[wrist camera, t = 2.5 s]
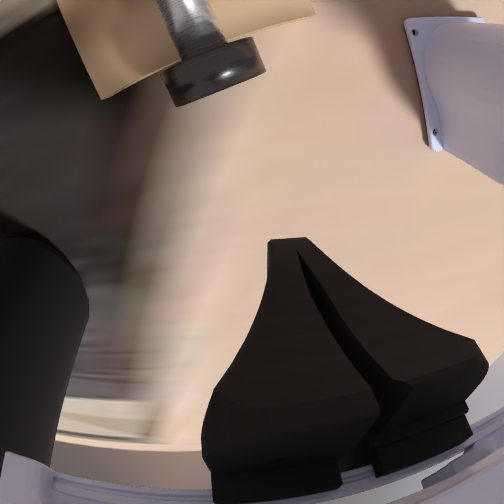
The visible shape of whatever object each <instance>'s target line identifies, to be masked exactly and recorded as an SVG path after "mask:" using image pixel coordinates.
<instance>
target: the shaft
mask: <svg viewBox="0 0 504 504" xmlns="http://www.w3.org/2000/svg"><path fill="white" fill-rule="evenodd" d="M154 2H155V4H156V7H157V9H158V11H159V13H160V15H161V17H162V19H163V22H164V24H165V26H166V28H167V30H168V32H169V34H170V37H171V39H172V41H173V43H174V45H175V47H176V50H177V52H178V54H179V56H180V58H181V61H182V62H180V63H178V64H176V65H174V66H172V67H170V68H168V69H167V70H165V71H163V72H162V73H161V77H162V79H163V81H164V83H165V85H166V87H167V89H168V91H169V94H170V96H171V98H172V100H173V102H174V104H175V106H176V107H179V106H182V105H185V104H188V103H191V102H193V101H196V100H199V99H201V98H204V97H206V96H209V95H211V94H214V93H216V92H219V91H221V90H224V89H226V88H229V87H231V86H234V85H236V84H239V83H241V82H244V81H246V80H249V79H251V78H254V77H256V76H258V75H260V74H262V73H264V72H266V69H265V67H264V64H263V62H262V59H261V57H260V54H259V52H258V50H257V47H256V45H255V42H254V40H253V38H252V37H248V38H243V39H240V40H236V41H233V42H230V43H228V42H227V40H226V38H225V35H224V33H223V31H222V29H221V26H220V24H219V22H218V20H217V18H216V15H215V13H214V11H213V9H212V7H211V4H210V2H209V0H154Z"/></svg>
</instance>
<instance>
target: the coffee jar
mask: <svg viewBox="0 0 504 504" xmlns="http://www.w3.org/2000/svg"><path fill="white" fill-rule="evenodd" d="M88 319H89V299H88V297H87V294H86V291H85V288H84V285H83V282H82V279H81V277H80V276H79V274H78V273H77V271H76V270H75V268H74V267H73V265H72V264H71V263H70V262H69V261H68V260H67V259H66V258H65V257H64V256H63V255H62V254H61V253H60V252H59V251H58V250H56V249H54V248H53V247H51V246H49V245H48V244H46V243H44V242H42V241H39V240H35V239H32V238H29V237H23V238H22V237H21V238H7V239H4V240H2V241H1V242H0V477H1V472H2V466H3V461H4V457H5V452H7V451H9V452H12V453H15V454H18V455H21V456H24V457H27V458H30V459H33V460H36V461H38V462H40V463H42V464H44V465H46V466H48V467H49V468H50V463H51V457H52V451H53V446H54V441H55V436H56V431H57V427H58V422H59V418H60V413H61V409H62V405H63V401H64V397H65V393H66V389H67V386H68V382H69V379H70V375H71V372H72V368H73V365H74V361H75V358H76V355H77V352H78V349H79V346H80V342H81V339H82V336H83V333H84V330H85V328H86V325H87V322H88Z"/></svg>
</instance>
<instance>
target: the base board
mask: <svg viewBox="0 0 504 504" xmlns="http://www.w3.org/2000/svg"><path fill="white" fill-rule="evenodd" d="M56 1H57V3H58V6H59V8H60V11H61V13H62V15H63V18H64V20H65V22H66V25H67V27H68V29H69V32H70V34H71V36H72V39H73V41H74V43H75V45H76V47H77V50H78V52H79V54H80V56H81V58H82V61H83V63H84V65H85V67H86V69H87V71H88V73H89V75H90V78H91V80H92V82H93V84H94V86H95V88H96V90H97V92H98V94H99V96H100V98H101V100H104V99H106V98H109V97H111V96H113V95H115V94H116V93H118V92H120V91H121V90H123V89H125V88H127V87H129V86H130V85H132V84H134V83H136V82H138V81H140V80H142V79H143V78H145V77H147V76H149V75H151V74H153V73H155V72H157V71H159V70H161V69H163V68H165V67H168V66H170V65H172V64H174V63H176V62H178V61H181V58H180V56H179V54H178V52H177V50H176V47H175V45H174V43H173V41H172V39H171V37H170V34H169V32H168V30H167V28H166V26H165V24H164V22H163V19H162V17H161V15H160V13H159V11H158V9H157V7H156V4H155V2H154V0H56ZM209 2H210V4H211V7H212V9H213V11H214V13H215V15H216V18H217V20H218V22H219V24H220V26H221V29H222V31H223V33H224V35H225V38H226V40H227V42H228V41H230V40H233V39H236V38H239V37H242V36H245V35H248V34H251V33H254V32H257V31H261V30H264V29H267V28H271V27H274V26H278V25H282V24H285V23H289V22H293V21H297V20H302V19H306V18H309V17H311V16H314V15H316V13H315V11H314V9H313V6H312V4H311V1H310V0H209Z"/></svg>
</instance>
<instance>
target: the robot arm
mask: <svg viewBox="0 0 504 504" xmlns="http://www.w3.org/2000/svg"><path fill="white" fill-rule="evenodd" d="M404 27H405V30H406V34H407V37H408V41H409V44H410V48H411V52H412V56H413V60H414V64H415V68H416V72H417V77H418V81H419V86H420V91H421V96H422V101H423V107H424V113H425V119H426V126H427V133H428V141H429V147H430V149H431V150H433V151H435V152H438V151H441V150H445V151H447V152H449V153H451V154H452V155H454V156H456V157H457V158H459V159H461V160H463V161H464V162H466V163H467V164H469V165H471V166H472V167H474V168H476V169H477V170H479V171H480V172H482V173H483V174H485V175H486V176H488V177H489V178H491V179H492V180H494V181H496V182H498V183H499V184H502V185H504V25H503V24H492V23H486V22H485V20H484V19H483V18H481V17H420V18H408V19H406V20H405V21H404ZM412 30H414V31H415V36H414V35H413V34H412ZM434 129H435V133H434V134H433V130H434ZM488 368H489V363H488V361H487V360H486V358H485V356H484V355H483V353H482V352H481V350H480V348H479V347H478V345H477V343H476V342H475V340H473V339H470V338H468V337H465V336H462V335H459V334H456V333H453V332H450V331H447V330H444V329H442V328H439V327H437V326H435V325H432V324H430V323H428V322H425V321H423V320H421V319H419V318H417V317H415V316H413V315H411V314H409V313H407V312H405V311H404V310H402V309H400V308H398V307H396V306H394V305H393V304H391V303H389V302H388V301H386V300H384V299H383V298H381V297H380V296H378V295H377V294H375V293H374V292H372V291H371V290H369V289H368V288H366V287H365V286H363V285H362V284H361V283H360V282H358V281H357V280H356V279H354V278H353V277H352V276H350V275H349V274H348V273H347V272H345V271H344V270H343V269H342V268H340V267H339V266H338V265H337V264H336V263H335V262H333V261H332V260H331V259H330V258H329V257H328V256H327V255H325V254H324V253H323V252H322V251H321V250H320V249H319V248H318V247H317V246H316V245H314V244H313V243H312V242H311V241H310V240H309V239H308V238H306V237H301V238H286V239H272V240H270V241H269V242H268V251H267V282H266V286H265V290H264V293H263V297H262V300H261V303H260V306H259V309H258V312H257V314H256V317H255V319H254V321H253V324H252V326H251V328H250V331H249V333H248V335H247V337H246V339H245V341H244V343H243V344H242V346H241V348H240V350H239V351H238V353H237V355H236V357H235V358H234V360H233V362H232V363H231V365H230V367H229V368H228V370H227V371H226V372H225V374H224V375H223V377H222V378H221V380H220V381H219V382H218V384H217V385H216V387H215V388H214V390H213V393H212V396H211V399H210V402H209V405H208V408H207V411H206V414H205V418H204V421H203V426H202V433H201V445H202V458H203V460H204V462H205V463H206V465H207V467H208V468H209V470H210V472H211V481H212V489H211V490H184V489H183V490H182V489H160V488H148V487H137V486H129V485H121V484H114V483H107V482H101V481H95V480H90V479H85V478H80V477H75V476H71V475H66V474H62V473H58V472H54V471H53V470H52V469H51V468H49V467H48V466H46V465H44V464H42V463H40V462H38V461H36V460H33V459H30V458H27V457H24V456H21V455H18V454H15V453H12V452H9V451H7V452H5V457H4V461H3V466H2V472H1V477H0V504H315V503H320V502H324V501H329V500H334V499H338V498H341V497H346V496H350V495H353V494H357V493H361V492H364V491H367V490H370V489H374V488H377V487H380V486H383V485H386V484H389V483H392V482H395V481H397V480H400V479H403V478H405V477H408V476H411V475H413V474H416V473H418V472H420V471H423V470H425V469H428V468H430V467H432V466H434V465H437V464H438V463H441V462H443V461H445V460H447V459H449V458H451V457H453V456H455V455H457V454H459V453H461V452H463V451H464V453H463V455H461V456H460V457H458V458H456V459H454V460H453V461H451V462H450V463H448V464H447V465H446V466H445V467H443V468H442V469H440V470H439V471H437V472H436V473H433V474H432V475H430V476H428V477H426V478H425V479H423V480H422V482H421V483H422V486H423V490H421V491H418V492H416V493H414V494H411V495H409V496H407V497H404V498H401V499H399V500H396V501H394V502H391V503H388V504H504V407H502V408H501V409H499V410H497V411H496V412H494V413H492V414H490V415H489V416H487V417H485V418H483V419H481V420H480V421H478V422H476V423H474V424H472V425H469V423H468V421H467V419H466V416H465V414H466V413H467V412H468V410H469V408H468V406H467V404H466V402H465V400H466V399H467V398H468V397H469V396H470V395H471V393H472V392H473V391H474V390H475V389H476V388H477V387H478V385H479V384H480V383H481V382H482V380H483V379H484V377H485V375H486V374H487V372H488Z"/></svg>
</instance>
